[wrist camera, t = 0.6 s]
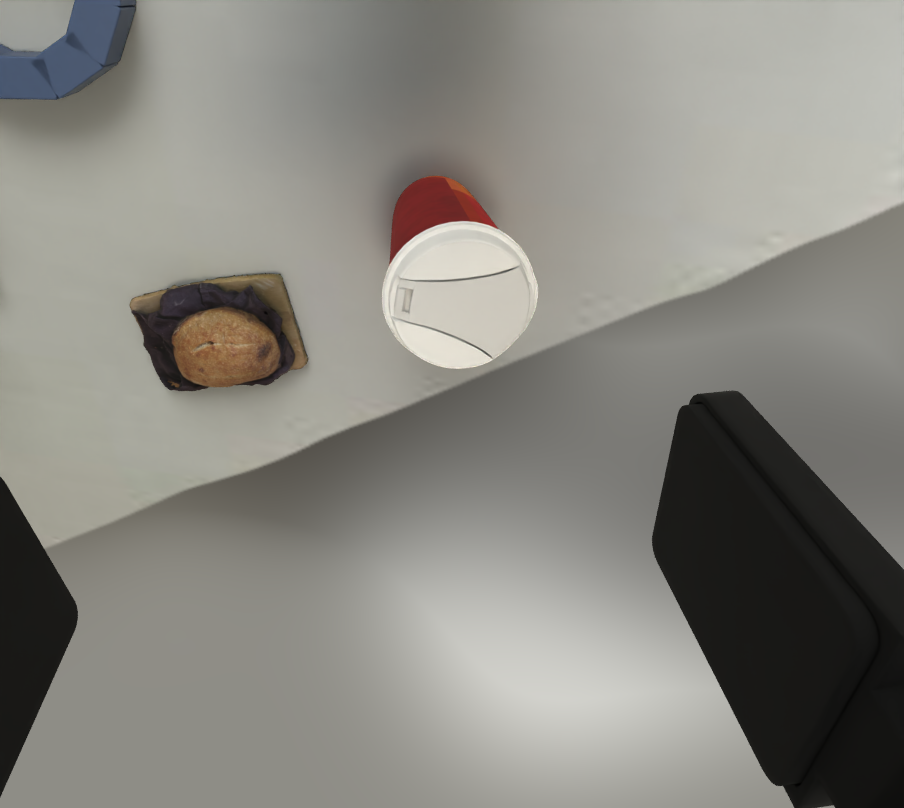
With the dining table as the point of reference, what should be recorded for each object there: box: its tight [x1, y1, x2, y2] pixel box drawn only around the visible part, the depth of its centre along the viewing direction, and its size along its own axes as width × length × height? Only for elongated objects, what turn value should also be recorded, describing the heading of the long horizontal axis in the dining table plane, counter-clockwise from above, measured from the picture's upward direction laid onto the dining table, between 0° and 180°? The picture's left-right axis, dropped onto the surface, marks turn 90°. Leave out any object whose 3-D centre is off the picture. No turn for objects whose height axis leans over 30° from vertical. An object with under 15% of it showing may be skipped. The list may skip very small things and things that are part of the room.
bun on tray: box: [130, 273, 308, 391], centre depth 43 cm, size 11×8×4 cm
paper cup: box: [382, 176, 538, 369], centre depth 35 cm, size 8×8×14 cm
